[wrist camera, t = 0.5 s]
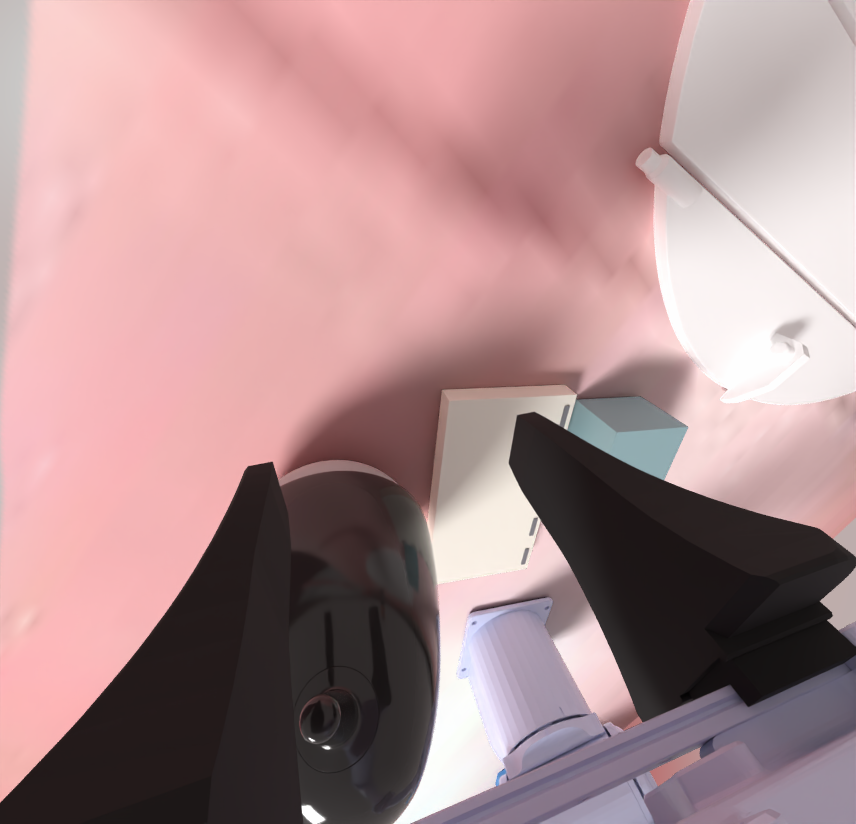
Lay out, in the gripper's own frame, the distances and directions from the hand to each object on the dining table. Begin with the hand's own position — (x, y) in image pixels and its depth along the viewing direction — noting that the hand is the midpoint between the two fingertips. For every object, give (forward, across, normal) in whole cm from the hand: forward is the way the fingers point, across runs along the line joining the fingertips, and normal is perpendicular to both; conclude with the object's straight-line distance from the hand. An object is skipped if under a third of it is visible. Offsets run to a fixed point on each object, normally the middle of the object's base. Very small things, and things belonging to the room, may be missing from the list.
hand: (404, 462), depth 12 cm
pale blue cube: (+9, -16, +9) cm, 20 cm away
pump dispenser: (+9, +3, +11) cm, 15 cm away
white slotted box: (+8, -8, +12) cm, 17 cm away
